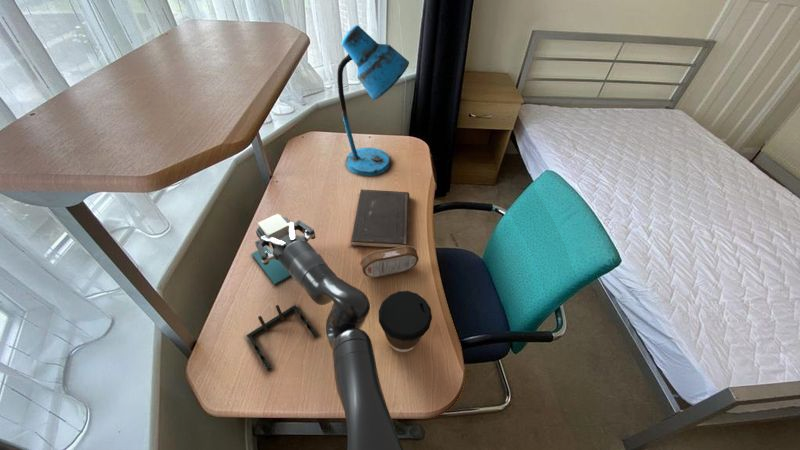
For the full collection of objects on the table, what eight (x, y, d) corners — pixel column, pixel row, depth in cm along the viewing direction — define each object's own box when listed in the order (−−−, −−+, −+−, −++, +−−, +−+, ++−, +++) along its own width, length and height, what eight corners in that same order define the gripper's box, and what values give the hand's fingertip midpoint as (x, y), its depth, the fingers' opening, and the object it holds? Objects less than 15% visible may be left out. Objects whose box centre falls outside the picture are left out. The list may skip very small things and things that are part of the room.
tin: (414, 262, 89) (417, 241, 83) (418, 271, 87) (421, 250, 81) (360, 273, 86) (359, 252, 80) (363, 282, 84) (362, 262, 78)
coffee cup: (417, 312, 78) (422, 283, 70) (433, 356, 71) (440, 329, 62) (373, 322, 76) (372, 294, 67) (384, 369, 68) (385, 343, 60)
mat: (274, 285, 82) (274, 284, 81) (252, 255, 88) (251, 253, 88) (316, 261, 88) (316, 260, 87) (292, 234, 94) (291, 233, 94)
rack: (267, 371, 67) (260, 359, 63) (247, 337, 72) (239, 324, 68) (317, 336, 73) (313, 323, 69) (295, 306, 78) (290, 292, 74)
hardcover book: (351, 246, 92) (350, 241, 90) (361, 194, 108) (360, 189, 107) (407, 249, 92) (408, 244, 91) (408, 197, 108) (409, 191, 107)
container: (276, 259, 82) (267, 235, 76) (266, 247, 85) (257, 222, 79) (296, 249, 85) (289, 224, 79) (285, 237, 88) (278, 213, 82)
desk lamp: (400, 179, 115) (409, 38, 84) (339, 173, 116) (325, 32, 84) (404, 154, 127) (412, 22, 95) (348, 149, 127) (338, 16, 96)
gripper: (279, 291, 72) (246, 247, 81) (333, 259, 79) (298, 221, 88) (271, 271, 67) (237, 226, 75) (330, 238, 74) (293, 200, 82)
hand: (270, 224), depth 81 cm, fingers closed on container, 5 cm apart
